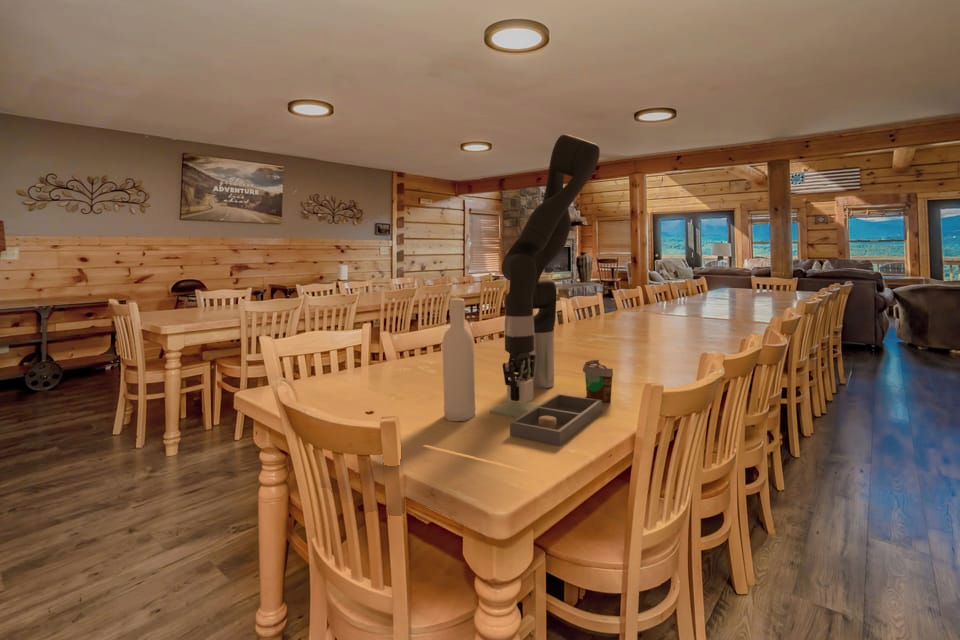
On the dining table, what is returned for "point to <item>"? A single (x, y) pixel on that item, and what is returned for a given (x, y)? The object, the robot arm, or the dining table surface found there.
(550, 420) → the tan oval stone
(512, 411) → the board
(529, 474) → the dining table surface
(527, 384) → the letter cube
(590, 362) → the food container
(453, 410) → the bottle
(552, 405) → the organiser tray
